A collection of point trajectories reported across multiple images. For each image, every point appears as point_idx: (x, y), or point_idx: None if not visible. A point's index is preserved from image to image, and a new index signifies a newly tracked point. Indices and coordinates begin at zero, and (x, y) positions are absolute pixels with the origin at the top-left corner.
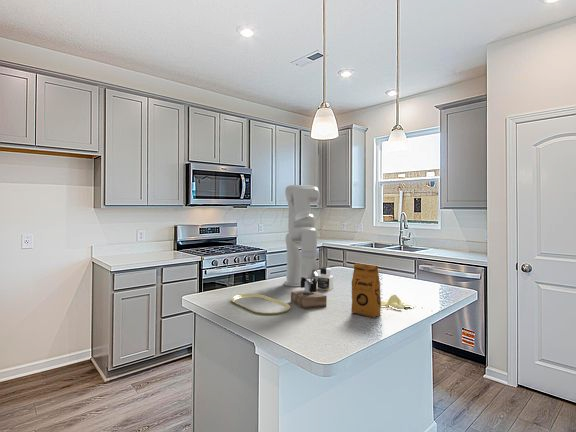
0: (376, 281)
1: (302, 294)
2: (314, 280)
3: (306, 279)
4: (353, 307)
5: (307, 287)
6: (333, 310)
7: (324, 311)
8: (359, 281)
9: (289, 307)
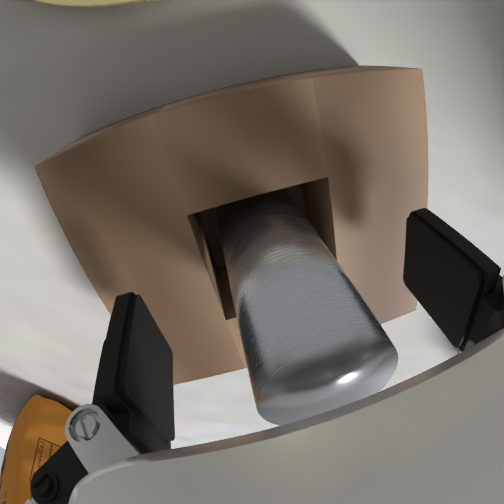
0: None
1: (235, 173)
2: (33, 480)
3: (463, 346)
4: (25, 418)
5: (246, 297)
6: (75, 338)
7: (43, 287)
8: None
9: (73, 2)
